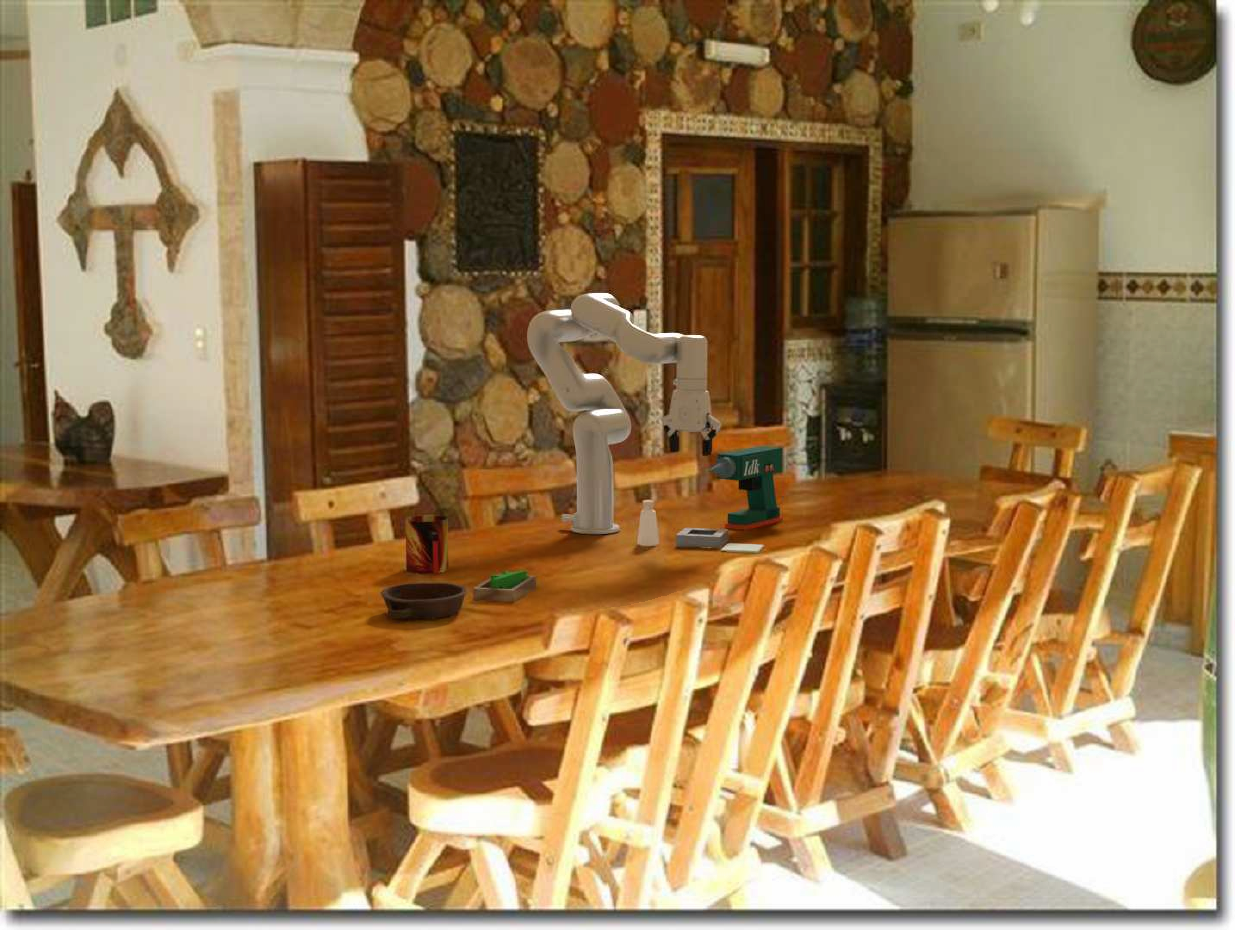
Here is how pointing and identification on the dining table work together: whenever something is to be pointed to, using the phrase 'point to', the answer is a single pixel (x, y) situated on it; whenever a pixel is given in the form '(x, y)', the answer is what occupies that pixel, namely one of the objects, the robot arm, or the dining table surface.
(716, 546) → the block
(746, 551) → the pad
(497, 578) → the green bumpy block
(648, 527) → the pepper shaker
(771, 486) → the power tool
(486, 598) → the tray
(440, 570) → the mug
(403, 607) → the dish
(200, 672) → the dining table surface
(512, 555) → the dining table surface
